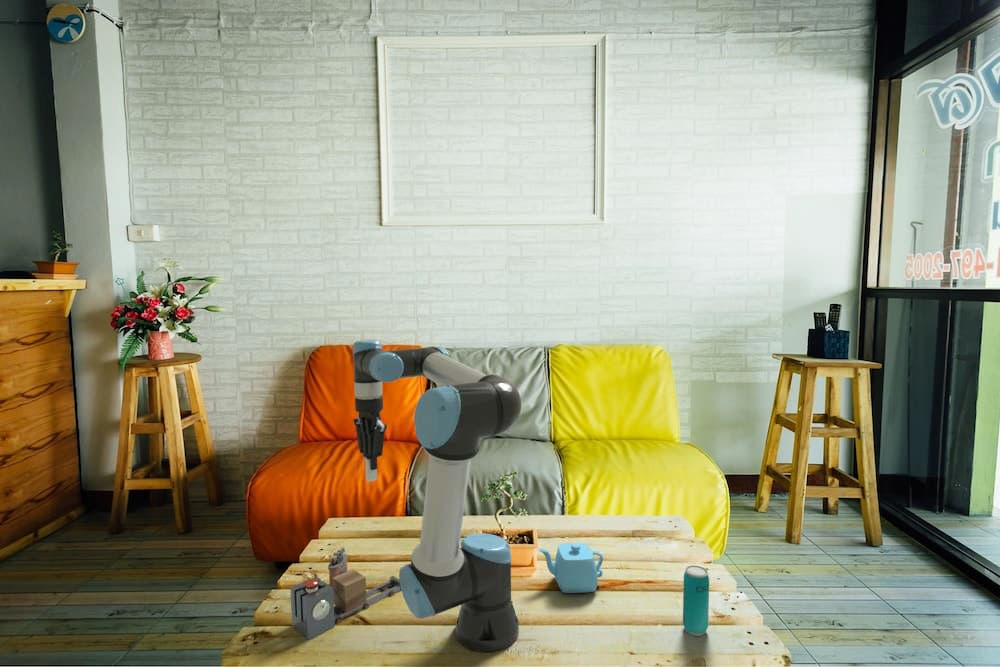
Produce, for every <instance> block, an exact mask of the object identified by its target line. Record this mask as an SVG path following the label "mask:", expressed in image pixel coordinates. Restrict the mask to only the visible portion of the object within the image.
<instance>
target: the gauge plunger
mask: <svg viewBox="0 0 1000 667" xmlns="http://www.w3.org/2000/svg"><path fill="white" fill-rule="evenodd" d="M305 581H306V582H305ZM305 581H304V582H305V588H306V595H307V594H310V593H312V592H314V591H317V590H318V580H317V579H312V578H310V579H308V580H305Z"/></svg>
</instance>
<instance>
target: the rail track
mask: <svg viewBox="0 0 1000 667" xmlns="http://www.w3.org/2000/svg"><path fill="white" fill-rule="evenodd" d="M399 591H402V590H401V586H400V580H399V578H398V577H397V576H395V575H392V576H390V577H389V580H388V581H385V582H383V583H381V584H379V585H377V586H375V587H372V588H371V589H368V590H366V601H367V603H366V604H363V605H361V606H359V607H357V608H355V609H353V610H351V611H349V612H347V613H345V612H344V611H343V610H341V609H340V608H339V607H337V606H336V605H334V621H335V623H340V622H342V621H343V619H344V618H347V617H348V616H351V615H352V614H354V613H357V612H359V611H361V610H363V609H365V610H366V609H368V607H369V608H370V606H371V605H373V604H375V603H378V602H380V601H382V600H383V598H384V599H386V598H387V597H393V596H395V595H396V593H398V592H399ZM381 599H382V600H381ZM295 626H296V625H295ZM296 627H297V626H296ZM296 627H295V628H296ZM295 628H294V629H295ZM302 633H303V634H304V632H302ZM302 636H303V637H304V635H302Z"/></svg>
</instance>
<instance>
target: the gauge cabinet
mask: <svg viewBox="0 0 1000 667" xmlns="http://www.w3.org/2000/svg"><path fill="white" fill-rule="evenodd" d="M311 579H317V580H318V590H317V591H314V592H312V593H310V594H307V595H306V588H305V582H306V581H307V580H305V581H303V582H300V583H298V584H295V585H293V586H291V587H290V590H289V591H290V606H291V607H290V608H291V609H290V610H291V612H290V613H291V627H292V628H294V629H295V630H296V631H297V632H298V633H299V634H300V635H302V636H303V635H304V636H303V637H304V638H305V639H306V640H307V641H309V640H311V639H313V638H315V637H317V636H320V635H321V634H323V633H326V632H328V631H329V630H331V629H333V628H335V624H336V622H335V621H334V606H335V604H334V596H333V588H332V587H331V586H330V584H329V585H328V584H327V583H326V582H325V581H323V580H322V579H321V578H319V577H318V576H315V577H312V578H311ZM295 625H296V626H297V627H296V626H295ZM295 627H296V628H295ZM302 632H304V634H303V633H302Z"/></svg>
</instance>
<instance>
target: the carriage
mask: <svg viewBox="0 0 1000 667" xmlns="http://www.w3.org/2000/svg"><path fill="white" fill-rule="evenodd" d="M366 580H367V578H366V576H365V575H363V574H362V573H360V572H358V571H357V570H355V569H350V570H348V572H345V573H343V574H341V575H338V576H336V577H333V596H334V606H337V607H339V608H340V609H341V610H340V611H344V612H345V613H347V612H349V611H351V610H353V609H355V608H357V607H359V606H361V605H363V604H366V603H367V601H366V600H367V598H366V591H367V583H366V582H367V581H366Z"/></svg>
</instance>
